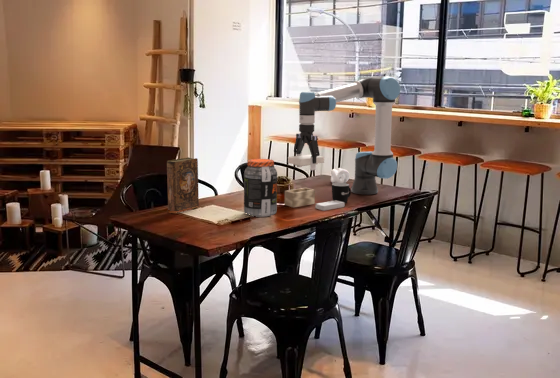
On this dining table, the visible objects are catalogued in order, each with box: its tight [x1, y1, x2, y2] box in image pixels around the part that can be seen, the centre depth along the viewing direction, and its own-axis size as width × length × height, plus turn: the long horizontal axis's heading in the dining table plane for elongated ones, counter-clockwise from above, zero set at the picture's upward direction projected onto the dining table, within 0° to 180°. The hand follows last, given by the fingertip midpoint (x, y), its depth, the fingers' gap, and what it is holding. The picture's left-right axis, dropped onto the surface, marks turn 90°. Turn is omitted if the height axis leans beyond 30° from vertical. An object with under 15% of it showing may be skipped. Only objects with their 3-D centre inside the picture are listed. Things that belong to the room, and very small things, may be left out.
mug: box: [331, 182, 352, 204], centre depth 297 cm, size 12×9×10 cm
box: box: [284, 187, 316, 208], centre depth 291 cm, size 14×7×8 cm, turn 128°
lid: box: [287, 153, 325, 167], centre depth 286 cm, size 15×10×4 cm, turn 127°
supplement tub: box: [243, 158, 278, 218], centre depth 272 cm, size 16×16×26 cm
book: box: [166, 156, 200, 211], centre depth 276 cm, size 16×6×25 cm, turn 145°
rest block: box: [314, 200, 346, 212], centre depth 285 cm, size 14×6×3 cm, turn 128°
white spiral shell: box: [330, 167, 350, 184], centre depth 349 cm, size 11×12×9 cm
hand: (306, 168), depth 286 cm, fingers closed on lid, 10 cm apart
